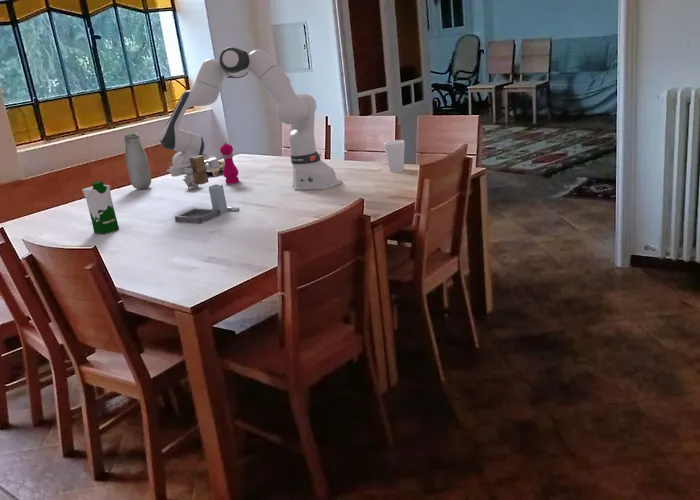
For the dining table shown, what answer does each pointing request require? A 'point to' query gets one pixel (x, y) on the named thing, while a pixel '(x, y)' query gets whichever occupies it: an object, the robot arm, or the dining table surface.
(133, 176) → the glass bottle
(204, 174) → the walnut block
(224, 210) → the greyblue block
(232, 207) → the pin gauge
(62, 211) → the dining table surface
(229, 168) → the pepper mill
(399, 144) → the foam cup
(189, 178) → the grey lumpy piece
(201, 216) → the tray
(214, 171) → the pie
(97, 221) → the milk carton
